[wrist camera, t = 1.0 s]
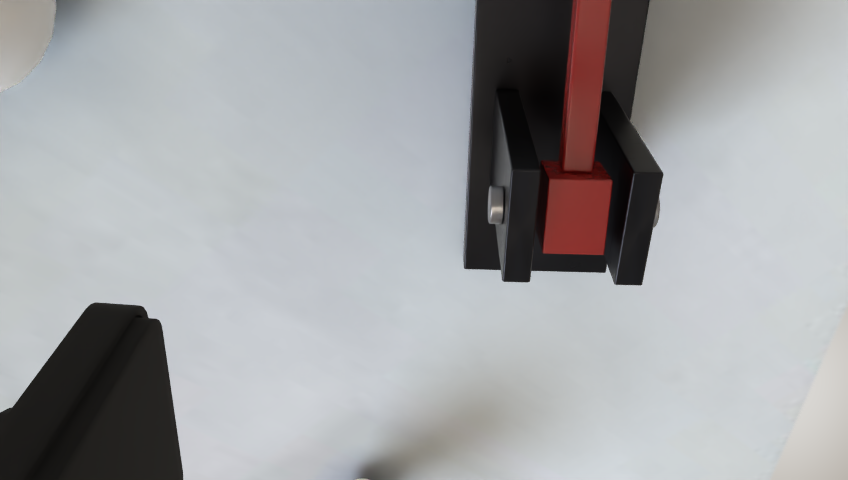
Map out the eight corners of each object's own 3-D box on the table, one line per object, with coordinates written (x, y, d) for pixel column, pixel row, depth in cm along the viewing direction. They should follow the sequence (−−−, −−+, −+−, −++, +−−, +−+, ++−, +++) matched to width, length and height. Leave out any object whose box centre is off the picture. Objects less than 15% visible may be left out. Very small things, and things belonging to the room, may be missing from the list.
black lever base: (477, -34, 30) (489, 19, 21) (646, -31, 30) (727, 24, 21) (463, 257, 37) (468, 384, 28) (601, 260, 37) (648, 390, 28)
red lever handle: (513, -155, 23) (521, -165, 21) (686, -152, 23) (712, -163, 21) (492, 228, 28) (496, 252, 26) (634, 232, 28) (650, 256, 26)
